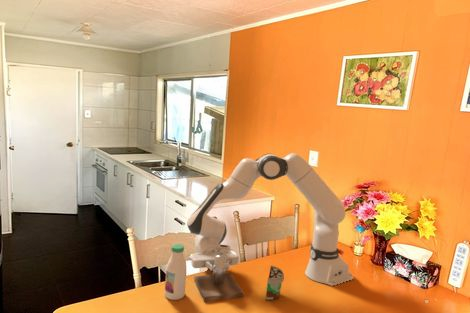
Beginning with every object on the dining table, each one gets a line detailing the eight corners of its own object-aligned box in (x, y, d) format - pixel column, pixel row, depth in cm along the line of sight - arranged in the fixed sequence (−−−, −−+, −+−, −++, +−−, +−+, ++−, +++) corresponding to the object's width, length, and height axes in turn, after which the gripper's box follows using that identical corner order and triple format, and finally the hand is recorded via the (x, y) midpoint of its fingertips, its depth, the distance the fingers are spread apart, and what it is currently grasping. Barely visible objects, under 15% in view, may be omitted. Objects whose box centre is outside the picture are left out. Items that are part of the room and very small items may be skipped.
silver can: (222, 277, 140) (224, 252, 138) (226, 283, 135) (228, 257, 134) (210, 278, 138) (212, 253, 137) (214, 284, 133) (216, 258, 132)
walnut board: (229, 277, 147) (229, 272, 147) (243, 296, 133) (243, 292, 132) (194, 280, 142) (194, 276, 141) (204, 301, 127) (204, 297, 127)
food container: (281, 305, 129) (283, 281, 127) (265, 302, 130) (267, 278, 129) (282, 289, 141) (285, 267, 139) (268, 287, 142) (270, 264, 141)
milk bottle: (182, 288, 135) (186, 241, 132) (186, 299, 127) (189, 249, 125) (163, 290, 132) (166, 242, 129) (165, 301, 125) (169, 250, 122)
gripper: (188, 248, 144) (195, 262, 131) (232, 245, 151) (244, 258, 138) (187, 262, 144) (194, 277, 132) (231, 258, 152) (242, 273, 139)
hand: (220, 268), depth 135 cm, fingers closed on silver can, 5 cm apart
